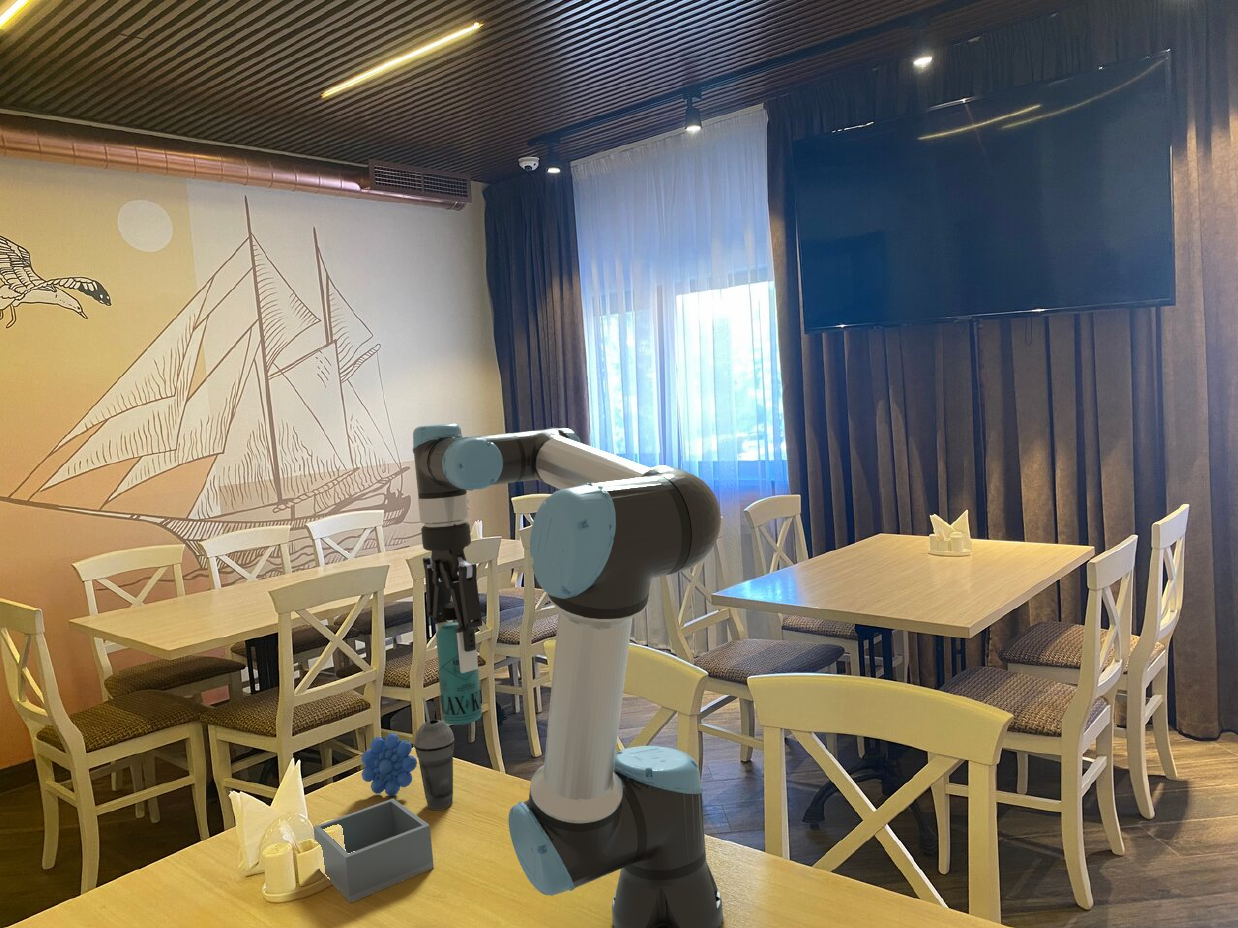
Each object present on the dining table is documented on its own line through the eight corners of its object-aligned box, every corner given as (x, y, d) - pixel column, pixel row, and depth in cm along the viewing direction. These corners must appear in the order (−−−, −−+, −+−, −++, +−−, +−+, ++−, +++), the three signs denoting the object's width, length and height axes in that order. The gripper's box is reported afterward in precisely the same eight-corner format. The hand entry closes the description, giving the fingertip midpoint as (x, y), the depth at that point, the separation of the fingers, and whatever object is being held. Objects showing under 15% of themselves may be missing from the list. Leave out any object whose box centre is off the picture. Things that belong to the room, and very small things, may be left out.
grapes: (430, 786, 173) (424, 725, 172) (413, 802, 166) (407, 739, 165) (376, 783, 176) (370, 723, 175) (357, 799, 169) (350, 737, 168)
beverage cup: (456, 812, 161) (446, 702, 159) (415, 814, 161) (405, 705, 160) (463, 793, 168) (454, 689, 167) (425, 796, 168) (415, 691, 167)
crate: (433, 867, 142) (429, 825, 142) (350, 902, 134) (345, 857, 133) (397, 838, 153) (393, 798, 152) (317, 868, 145) (313, 826, 144)
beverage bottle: (434, 729, 145) (423, 606, 143) (467, 716, 149) (457, 597, 148) (459, 737, 140) (447, 611, 139) (493, 724, 145) (482, 601, 143)
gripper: (497, 523, 137) (510, 672, 139) (438, 515, 152) (450, 649, 154) (452, 531, 132) (466, 684, 134) (396, 522, 147) (409, 660, 149)
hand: (458, 665), depth 144 cm, fingers closed on beverage bottle, 6 cm apart
